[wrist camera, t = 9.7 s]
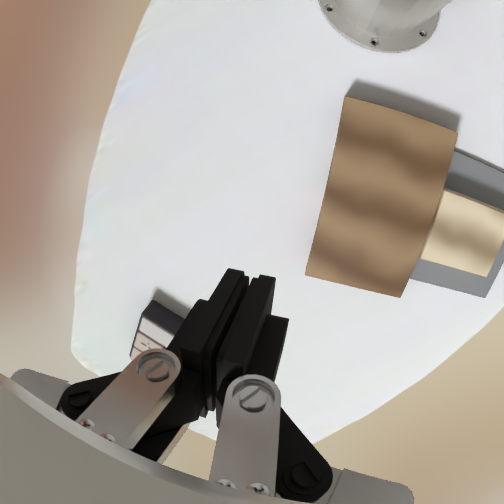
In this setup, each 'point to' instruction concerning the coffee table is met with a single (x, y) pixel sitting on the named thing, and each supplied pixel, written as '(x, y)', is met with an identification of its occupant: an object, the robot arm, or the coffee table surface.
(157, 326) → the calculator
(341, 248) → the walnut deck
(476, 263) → the oak tile
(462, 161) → the rubber mat
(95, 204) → the coffee table surface
